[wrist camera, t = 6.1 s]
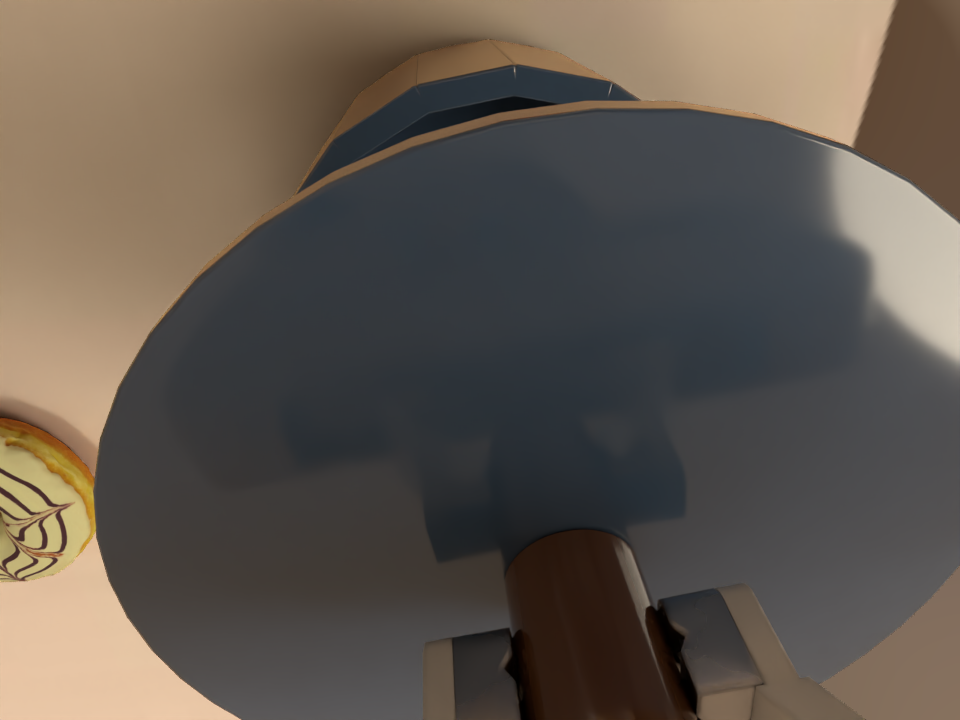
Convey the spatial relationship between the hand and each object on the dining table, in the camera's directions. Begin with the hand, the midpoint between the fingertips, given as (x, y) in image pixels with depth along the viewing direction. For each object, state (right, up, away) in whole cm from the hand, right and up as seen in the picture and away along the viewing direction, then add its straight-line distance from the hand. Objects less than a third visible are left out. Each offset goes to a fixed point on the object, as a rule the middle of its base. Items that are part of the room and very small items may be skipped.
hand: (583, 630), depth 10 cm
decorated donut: (-28, -1, +22) cm, 35 cm away
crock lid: (0, +1, +2) cm, 2 cm away
